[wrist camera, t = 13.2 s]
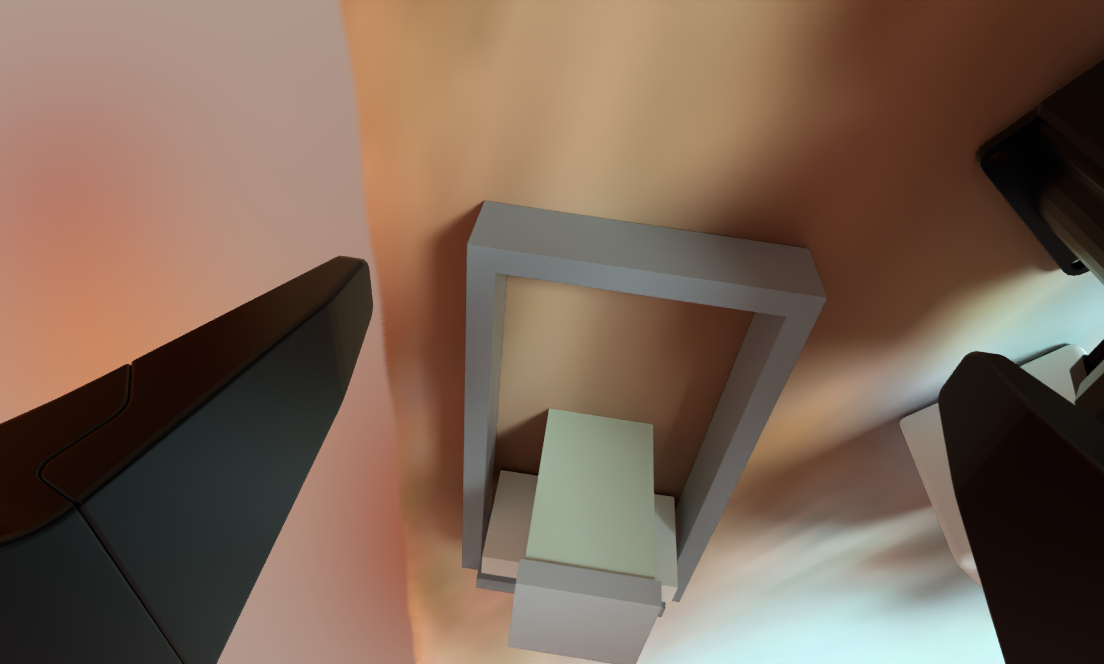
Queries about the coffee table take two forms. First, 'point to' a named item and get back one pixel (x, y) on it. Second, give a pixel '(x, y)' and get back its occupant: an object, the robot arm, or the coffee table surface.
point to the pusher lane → (652, 270)
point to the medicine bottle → (932, 456)
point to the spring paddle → (515, 520)
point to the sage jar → (590, 543)
